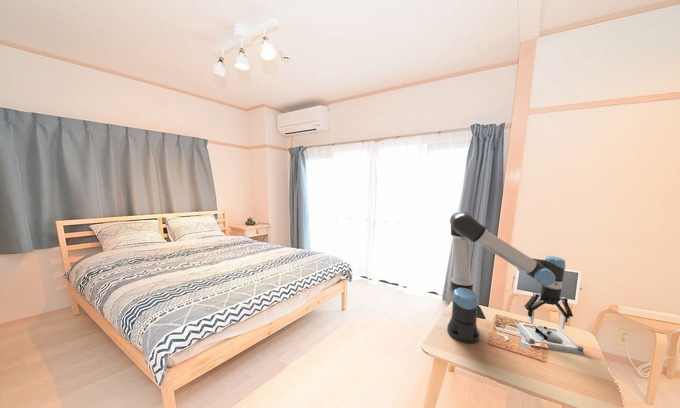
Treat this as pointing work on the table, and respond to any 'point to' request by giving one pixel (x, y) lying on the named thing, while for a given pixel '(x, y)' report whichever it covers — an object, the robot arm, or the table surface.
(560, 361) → the table surface
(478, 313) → the smartphone
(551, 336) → the gaming controller
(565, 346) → the chassis
